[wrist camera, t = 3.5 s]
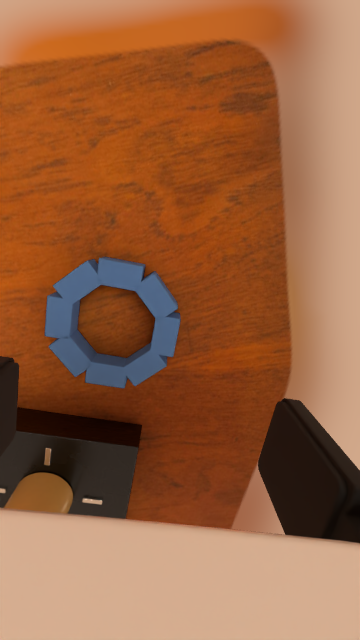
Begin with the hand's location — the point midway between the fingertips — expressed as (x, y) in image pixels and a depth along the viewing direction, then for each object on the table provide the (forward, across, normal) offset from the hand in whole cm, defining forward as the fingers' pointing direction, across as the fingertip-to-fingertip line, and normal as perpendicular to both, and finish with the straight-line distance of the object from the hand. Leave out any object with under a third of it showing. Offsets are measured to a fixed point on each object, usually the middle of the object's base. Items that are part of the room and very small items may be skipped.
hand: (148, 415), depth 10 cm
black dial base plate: (+10, +6, +13) cm, 17 cm away
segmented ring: (+10, +3, 0) cm, 11 cm away
